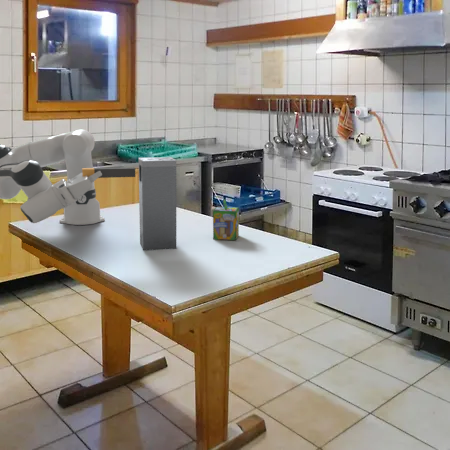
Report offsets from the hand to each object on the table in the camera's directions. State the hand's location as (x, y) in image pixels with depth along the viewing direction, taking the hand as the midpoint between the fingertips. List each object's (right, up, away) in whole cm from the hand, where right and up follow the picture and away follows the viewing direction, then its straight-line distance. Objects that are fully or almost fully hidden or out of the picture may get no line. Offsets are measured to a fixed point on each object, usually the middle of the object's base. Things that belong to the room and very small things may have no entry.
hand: (100, 171), depth 202 cm
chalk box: (+44, -24, +26) cm, 56 cm away
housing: (+19, -26, +11) cm, 34 cm away
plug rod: (+3, -2, +1) cm, 3 cm away
